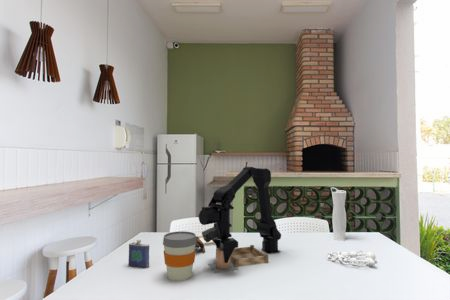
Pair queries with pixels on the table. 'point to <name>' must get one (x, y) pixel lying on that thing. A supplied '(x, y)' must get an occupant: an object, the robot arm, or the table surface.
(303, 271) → the table surface
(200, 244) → the brown creature figurine
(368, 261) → the tangled rod sculpture
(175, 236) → the reusable coffee cup
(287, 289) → the table surface
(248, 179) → the robot arm
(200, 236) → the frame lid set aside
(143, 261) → the flask
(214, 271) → the slate mat
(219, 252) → the terracotta pot
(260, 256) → the brown wooden tray
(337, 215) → the white water bottle
